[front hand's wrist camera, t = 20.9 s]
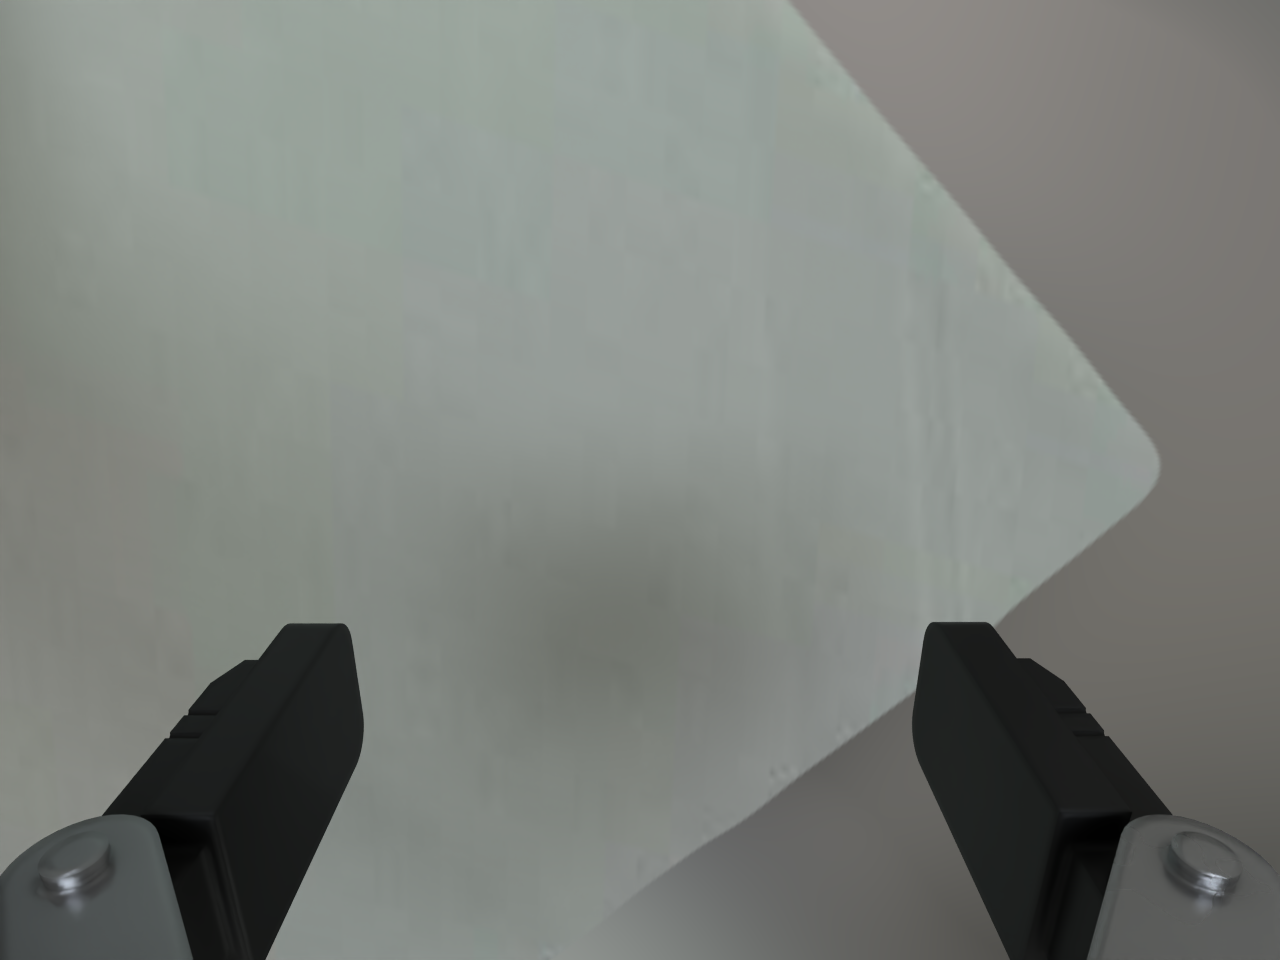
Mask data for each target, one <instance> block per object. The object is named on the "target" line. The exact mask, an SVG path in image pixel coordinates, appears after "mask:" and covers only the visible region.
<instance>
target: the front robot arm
mask: <svg viewBox="0 0 1280 960" xmlns="http://www.w3.org/2000/svg"><path fill="white" fill-rule="evenodd" d="M363 732H364V719H363V711H362V704H361V698H360V691H359V684H358V678H357V671H356V664H355V658H354V651H353V644H352V639H351V634H350V631H349V629H348V627H347V626H346V625H345V624H287V625H286V626H284V627H283V628H282V629H281V631H280V632H279V633H278V635H277V636H276V637H275V639H274V640H273V641H272V643H271V644H270V645H269V647H268V648H267V649H266V650H265V652H264V653H263V654H262V656H261V657H260V658H259V660H244V661H243V662H241V663H240V664H238V665H237V666H235V667H234V668H232V669H231V670H229V671H228V672H226V673H225V674H223V675H222V676H220V677H219V678H217V679H216V680H214V681H213V682H211V683H210V684H209V686H208V687H207V688H206V689H205V691H204V692H203V693H202V694H201V695H200V697H199V698H198V699H197V700H196V702H195V703H194V704H193V705H192V706H191V708H190V709H189V713H188V715H184V716H183V717H182V719H181V720H180V721H179V722H178V723H177V725H176V726H175V727H174V728H173V730H172V731H171V732H170V738H165V739H164V741H163V742H162V743H161V744H160V745H159V747H158V748H157V749H156V750H155V752H154V753H153V754H152V755H151V756H150V758H149V759H148V760H147V761H146V763H145V764H144V765H143V766H142V767H141V769H140V770H139V771H138V772H137V774H136V775H135V776H134V777H133V778H132V780H131V781H130V782H129V783H128V784H127V786H126V787H125V788H124V789H123V791H122V792H121V793H120V794H119V795H118V797H117V798H116V799H115V800H114V802H113V803H112V804H111V805H110V806H109V808H108V809H107V810H106V811H105V813H104V814H103V815H102V816H100V817H95V818H91V819H87V820H84V821H81V822H78V823H75V824H72V825H70V826H68V827H65V828H63V829H61V830H58V831H56V832H54V833H53V834H51V835H49V836H47V837H45V838H43V839H42V840H40V841H39V842H37V843H36V844H34V845H33V846H31V847H30V848H29V849H27V850H26V851H25V852H23V853H22V854H21V855H20V856H18V857H17V858H16V859H15V860H14V861H13V862H12V863H11V864H10V865H9V866H8V867H7V869H6V870H5V871H4V872H3V873H2V874H1V876H0V960H265V959H266V957H267V955H268V953H269V951H270V949H271V946H272V944H273V942H274V940H275V938H276V936H277V934H278V932H279V929H280V927H281V925H282V923H283V921H284V919H285V917H286V914H287V912H288V910H289V908H290V906H291V904H292V902H293V899H294V897H295V895H296V893H297V891H298V889H299V887H300V885H301V882H302V880H303V878H304V876H305V874H306V872H307V870H308V867H309V865H310V863H311V861H312V859H313V857H314V855H315V852H316V850H317V848H318V846H319V844H320V842H321V840H322V838H323V835H324V833H325V831H326V829H327V827H328V825H329V823H330V820H331V818H332V816H333V814H334V812H335V810H336V808H337V805H338V803H339V801H340V799H341V797H342V795H343V793H344V791H345V788H346V786H347V784H348V782H349V780H350V778H351V776H352V773H353V771H354V769H355V767H356V765H357V762H358V759H359V756H360V752H361V748H362V742H363ZM912 733H913V742H914V747H915V752H916V755H917V758H918V761H919V764H920V766H921V768H922V770H923V772H924V774H925V777H926V779H927V781H928V783H929V785H930V787H931V790H932V792H933V794H934V796H935V798H936V800H937V803H938V805H939V807H940V809H941V811H942V813H943V816H944V818H945V820H946V822H947V824H948V826H949V829H950V831H951V833H952V835H953V837H954V839H955V842H956V844H957V846H958V848H959V850H960V852H961V855H962V857H963V859H964V861H965V863H966V865H967V867H968V870H969V872H970V874H971V876H972V878H973V880H974V882H975V885H976V887H977V889H978V891H979V893H980V895H981V898H982V900H983V902H984V904H985V906H986V909H987V911H988V913H989V915H990V917H991V919H992V922H993V924H994V926H995V928H996V930H997V932H998V934H999V937H1000V939H1001V941H1002V943H1003V945H1004V947H1005V950H1006V952H1007V954H1008V956H1009V958H1010V960H1280V876H1279V874H1278V873H1277V872H1276V871H1275V870H1274V869H1273V867H1272V866H1271V865H1270V864H1269V863H1268V862H1267V861H1266V860H1265V859H1264V858H1263V857H1261V856H1260V855H1259V854H1258V853H1257V852H1255V851H1254V850H1253V849H1251V848H1250V847H1249V846H1247V845H1246V844H1244V843H1243V842H1241V841H1240V840H1238V839H1237V838H1235V837H1233V836H1231V835H1229V834H1227V833H1225V832H1224V831H1222V830H1219V829H1217V828H1215V827H1212V826H1210V825H1208V824H1205V823H1202V822H1199V821H1196V820H1193V819H1189V818H1185V817H1180V816H1173V815H1172V814H1171V812H1170V811H1169V810H1168V809H1167V807H1166V806H1165V805H1164V804H1163V803H1162V801H1161V800H1160V799H1159V798H1158V796H1157V795H1156V794H1155V793H1154V791H1153V790H1152V789H1151V788H1150V786H1149V785H1148V784H1147V783H1146V782H1145V780H1144V779H1143V778H1142V777H1141V775H1140V774H1139V773H1138V772H1137V771H1136V769H1135V768H1134V767H1133V766H1132V764H1131V763H1130V762H1129V761H1128V759H1127V758H1126V757H1125V756H1124V754H1123V753H1122V752H1121V751H1120V750H1119V748H1118V747H1117V746H1116V745H1115V743H1114V742H1113V741H1112V740H1111V739H1110V737H1109V736H1105V735H1104V730H1103V729H1102V727H1101V726H1100V725H1099V724H1098V722H1097V721H1096V720H1095V719H1094V718H1093V716H1092V715H1091V714H1088V713H1086V708H1085V706H1084V705H1083V704H1082V703H1081V702H1080V700H1079V699H1078V698H1077V697H1076V695H1075V694H1074V693H1073V692H1072V690H1071V689H1070V688H1069V687H1068V686H1067V684H1066V683H1065V682H1064V681H1063V680H1061V679H1060V678H1058V677H1057V676H1055V675H1054V674H1052V673H1051V672H1049V671H1048V670H1046V669H1045V668H1044V667H1042V666H1041V665H1039V664H1038V663H1036V662H1035V661H1033V660H1032V659H1030V658H1016V657H1015V656H1014V654H1013V653H1012V652H1011V650H1010V649H1009V648H1008V646H1007V645H1006V644H1005V642H1004V641H1003V640H1002V638H1001V637H1000V636H999V634H998V633H997V632H996V630H995V629H994V628H993V627H992V626H991V625H990V624H989V623H987V622H932V623H930V624H929V625H928V627H927V629H926V632H925V635H924V641H923V647H922V654H921V661H920V668H919V674H918V681H917V688H916V695H915V701H914V708H913V716H912Z"/></svg>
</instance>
